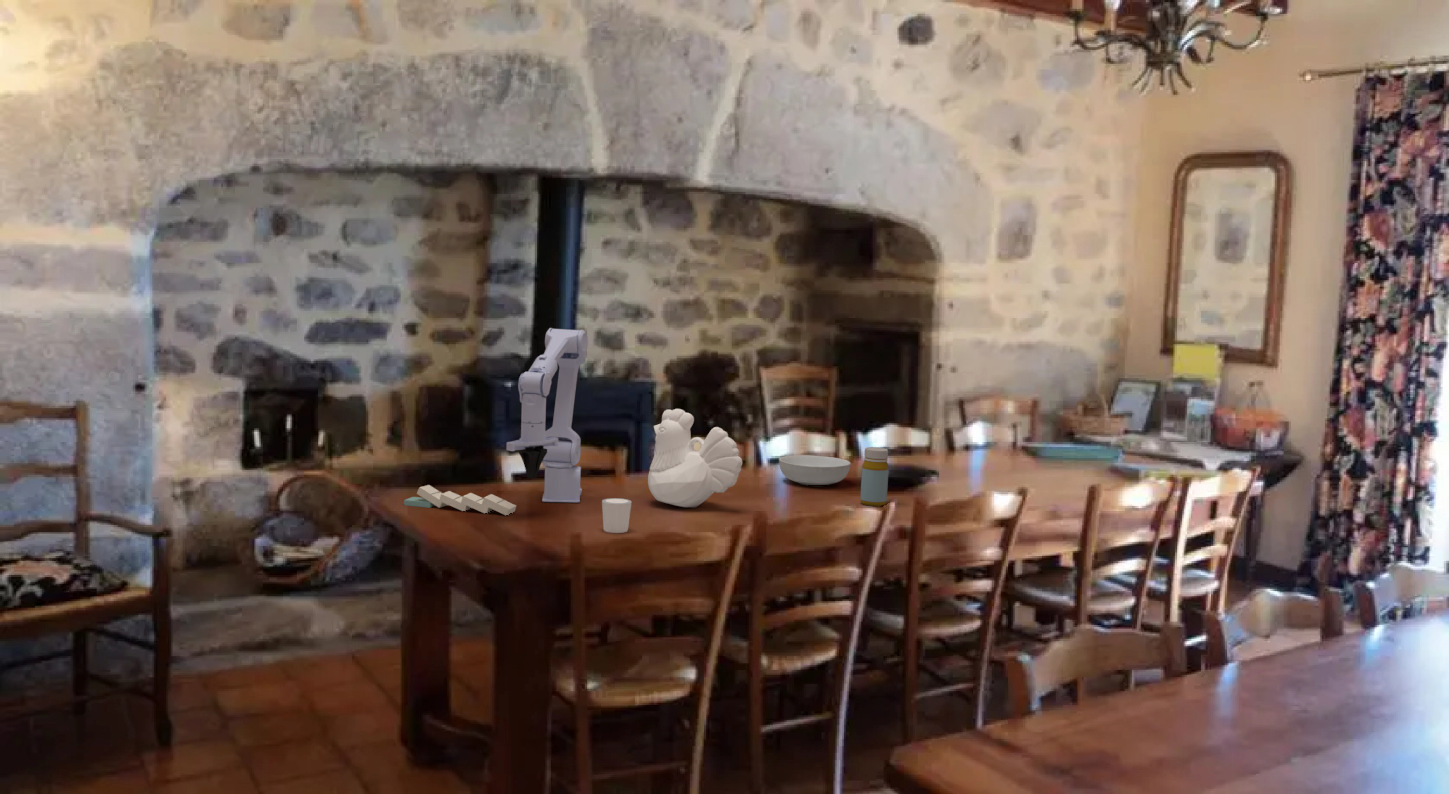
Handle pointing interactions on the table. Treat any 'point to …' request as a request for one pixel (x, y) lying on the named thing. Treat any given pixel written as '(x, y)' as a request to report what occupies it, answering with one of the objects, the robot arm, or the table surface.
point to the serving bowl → (814, 469)
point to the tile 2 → (431, 495)
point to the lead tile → (498, 504)
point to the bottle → (874, 477)
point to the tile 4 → (475, 503)
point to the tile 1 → (418, 502)
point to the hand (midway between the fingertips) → (531, 477)
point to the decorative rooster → (690, 462)
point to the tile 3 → (453, 500)
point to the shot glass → (616, 514)
